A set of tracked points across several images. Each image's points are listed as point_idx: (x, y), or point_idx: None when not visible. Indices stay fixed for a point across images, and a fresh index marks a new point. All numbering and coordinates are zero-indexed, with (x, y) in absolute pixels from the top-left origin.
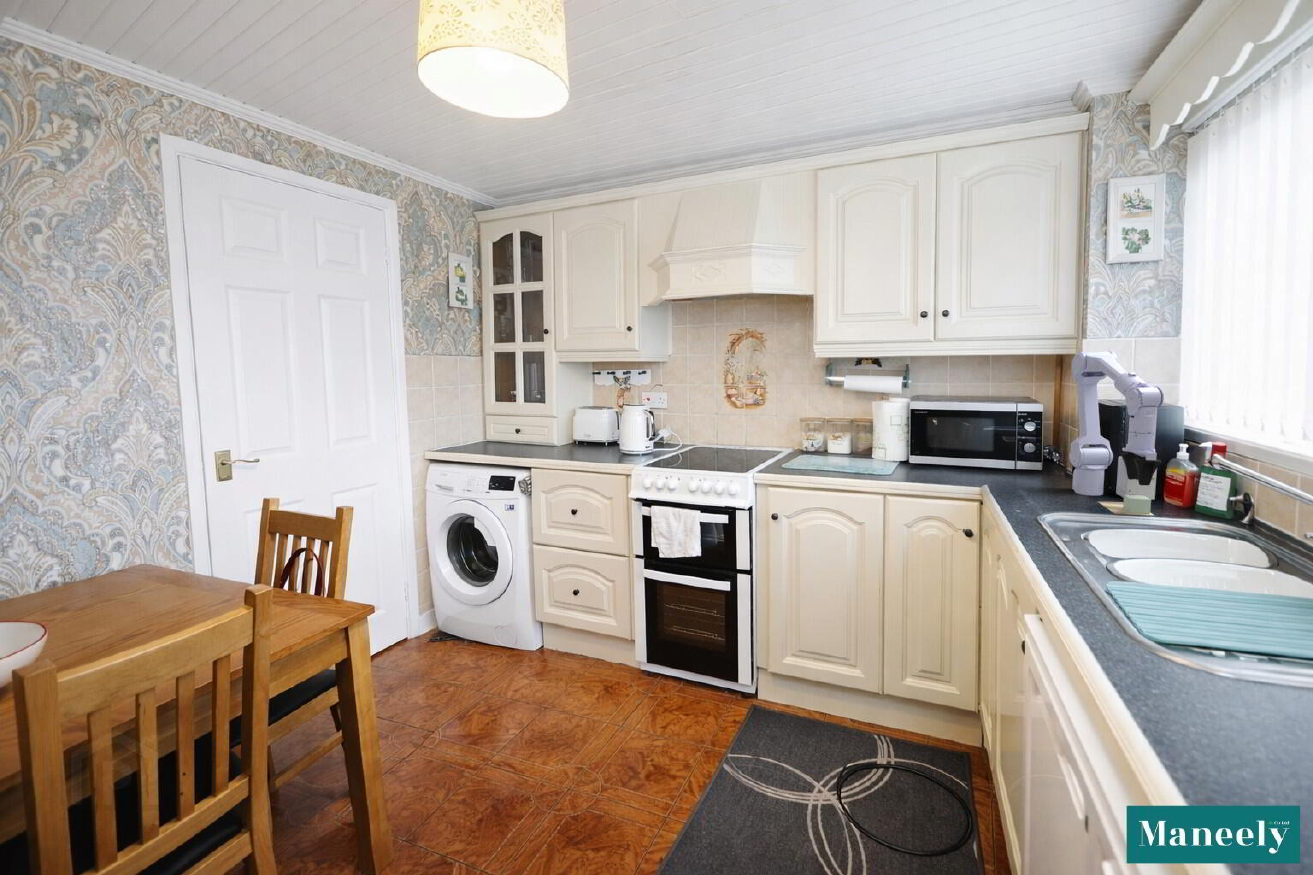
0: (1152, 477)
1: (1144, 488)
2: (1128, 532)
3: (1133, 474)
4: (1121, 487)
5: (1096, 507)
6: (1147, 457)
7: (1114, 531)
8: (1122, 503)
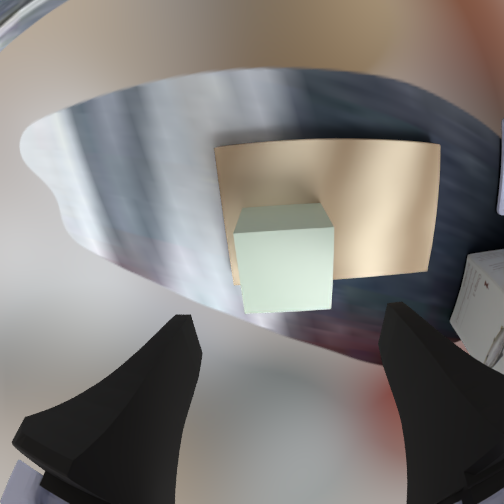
0: None
1: (477, 328)
2: (54, 167)
3: (395, 348)
4: None
5: (401, 127)
6: (11, 475)
7: (51, 132)
8: (416, 228)
